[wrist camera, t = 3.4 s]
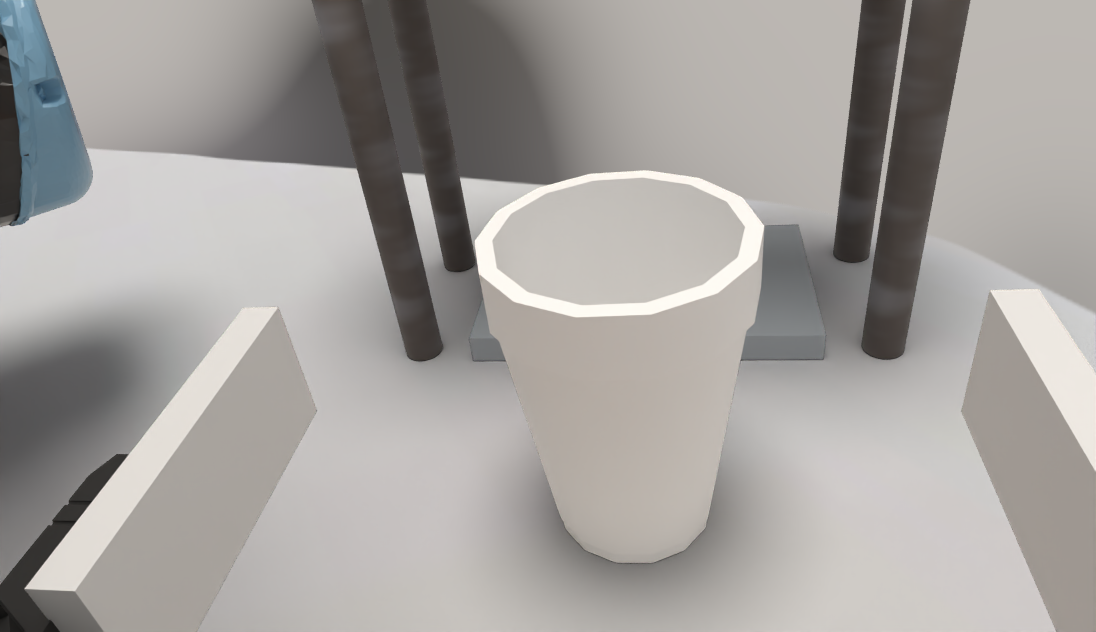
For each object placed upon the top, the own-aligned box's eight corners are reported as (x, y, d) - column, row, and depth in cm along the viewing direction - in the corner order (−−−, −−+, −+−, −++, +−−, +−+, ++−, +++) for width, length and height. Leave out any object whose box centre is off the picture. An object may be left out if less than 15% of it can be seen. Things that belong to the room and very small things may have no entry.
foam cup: (562, 412, 39) (529, 166, 31) (758, 438, 36) (774, 175, 28) (492, 573, 31) (428, 303, 24) (731, 622, 29) (743, 333, 21)
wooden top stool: (402, 361, 43) (237, -240, 28) (448, 255, 52) (342, -246, 37) (908, 359, 39) (1047, -355, 23) (865, 244, 48) (945, -330, 32)
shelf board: (473, 360, 43) (468, 338, 42) (508, 253, 51) (504, 233, 51) (823, 359, 40) (826, 335, 39) (796, 246, 48) (798, 224, 48)
